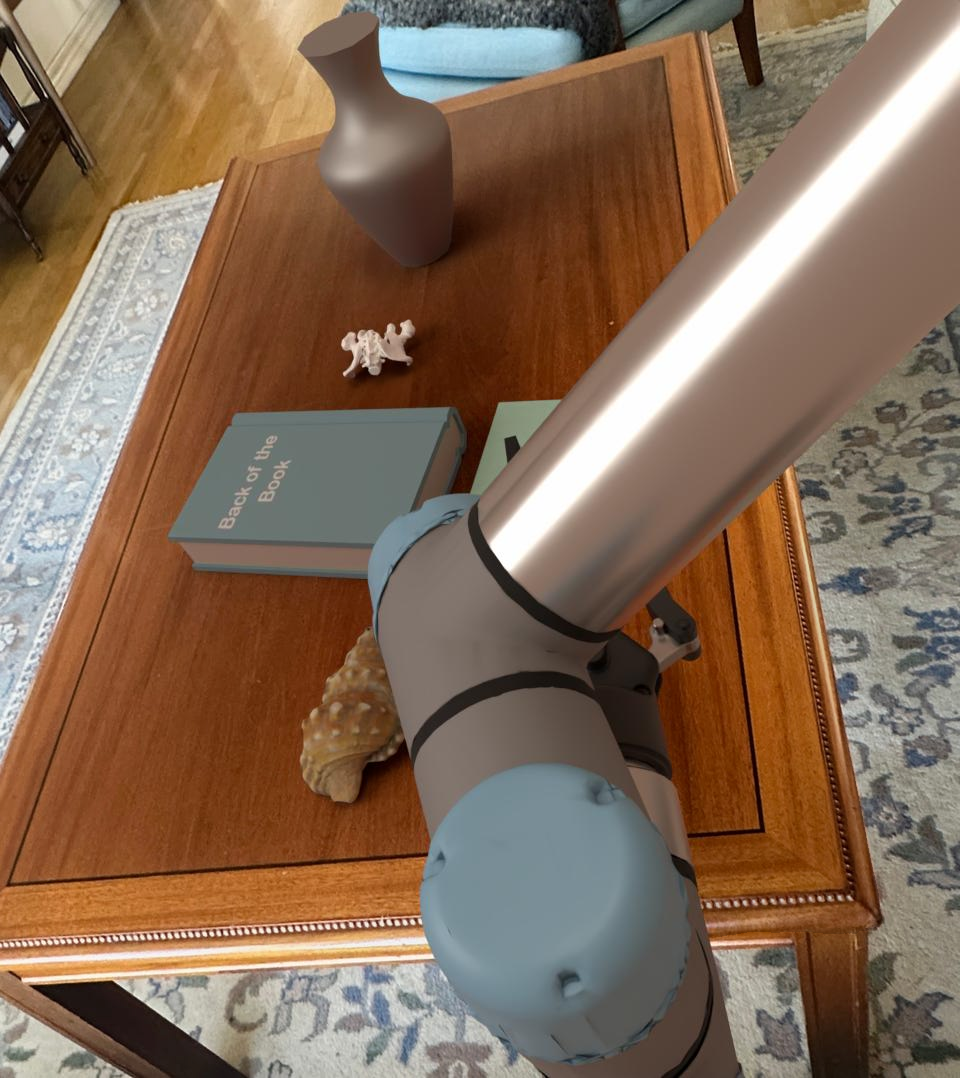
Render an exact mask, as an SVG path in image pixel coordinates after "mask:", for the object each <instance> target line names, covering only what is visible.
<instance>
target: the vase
mask: <svg viewBox="0 0 960 1078" xmlns="http://www.w3.org/2000/svg"><path fill="white" fill-rule="evenodd" d="M296 50H297V51H298V52H299V53H300V54H301V55H302V57H304V59H305V60H306V61H307V62H308V63H309V64H310V66H311V67H312V69H314V70H315V71H316V73H317V74H318V75H319V76H320V78H322V80H323V81H324V83H325V85H326V86H327V87H328V89H329V90H330V92H331V95H332V97H333V101H334V102H333V103H334V110H335V111H334V113H335V114H334V115H335V116H334V121H333V122H334V123H333V124H332V126H331V128H330V130H329V132H328V133H327V135H326V136H325V138H324V140H323V141H322V144H321V145H320V146H321V147H320V149H319V151H318V157H317V167H318V172H319V176H320V178H321V180H322V182H323V183H324V184H325V186H326V188H327V189H328V191H329V192H330V193H331V194H332V196H333V197H334V198H335V200H336V201H338V203H339V204H340V205H341V206H342V207H343V209H345V211H346V212H347V213H348V214H349V215H350V216H351V217H352V219H353V220H354V221H355V222H356V223H357V224H358V225H359V227H360V228H362V230H363V231H364V232H365V233H366V234H367V235H368V236H369V237H370V239H372V240H373V241H374V242H375V243H376V244H377V245H378V246H379V247H380V248H381V249H382V250H384V251H385V253H387V254H388V255H389V256H391V258H393V259H394V260H395V261H396V262H397V263H399V265H401V267H403V268H416V269H418V268H421V267H425V266H427V265H430V264H432V263H435V262H437V261H438V260H439V259H440V258H442V257H443V256H444V255H445V254H446V253H447V252H449V250H450V247H451V243H452V230H453V219H454V170H453V167H454V166H453V165H454V164H453V146H452V135H451V128H450V125H449V122H448V120H447V117H446V115H445V114H444V113H443V111H441V109H439V107H437V106H436V105H434V104H433V103H431V102H429V101H427V100H424V99H420V98H417V97H415V96H408V95H404V94H402V93H400V92H399V91H398V90H397V89H395V88H394V86H392V84H391V83H390V82H389V80H388V79H387V77H386V76H385V73H384V71H383V67H382V62H381V61H382V60H381V54H380V17H379V16H378V15H376V14H375V13H373V12H372V11H370V10H368V11H357V12H348V13H345V14H343V15H340V16H338V17H336V18H332V19H330V20H327V21H325V22H323V23H322V24H320V25H318V26H317V27H315V28H314V29H313V30H312V31H310V32H308V33H307V34H306V35H304V36H303V38H302V40H301V42H300V44H299V45H298V47H297V48H296Z"/></svg>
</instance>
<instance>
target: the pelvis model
mask: <svg viewBox="0 0 960 1078" xmlns="http://www.w3.org/2000/svg"><path fill="white" fill-rule="evenodd" d="M399 327H400V328H401V333H400V334H397V333H396V326H395V324H394V323H393V322H391V323H390V322H389V324H387V327H386V332H384V338H382V337H381V335H380V333H379V332H377V331H375V329H369V330H365V329H361V330H359V331H358V333H356V332H354V331H349V332H347V334H346V335H345V337H343V339H342V340H341V343H340V344H341V345H340V346H341V348H342V350H344V351H345V352H348V351H349V352H350V351H351V352H352V355H353V360H352V362H351V364H350V366H349V367H348V368H347V369H346V370H345V371H343V372H342V375H343V377H345V378H348V379H355V378H356V369H357V367H358V366H359V365H361V367H362V368H365V367H366V368H368V372H369V374H370V375H372V376H378V375H379V374H380V373H381V372H382V364H383V363H386V360H385V358H387V359H389V360H392V361H397V362H405V363H406V366H407V367H410V366H411V365H412V364H413V358H412V357H411V356H408V355H407V354H406V351H405V347H404V346H405V344H406V342H407V340H408V339H412V338H413V336H414V335H415V334H416V327H415V326H414V325H413V321H412V320H411V319H407V320H405V321H402V322H400V324H399ZM356 339H358V342H357V341H356ZM382 358H383V359H382Z"/></svg>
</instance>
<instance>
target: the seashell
mask: <svg viewBox="0 0 960 1078" xmlns="http://www.w3.org/2000/svg"><path fill="white" fill-rule="evenodd" d="M324 685H325V687H324V691H323V695H322V699H321V701H322V703H321V704H320V706H317V707H315V708H313V709H312V710H311V712H310V713H309V716H308V717H307V718H304V719H303V720H302V722H301V729H302V733H303V734H302V735H303V736H302V737H303V744H302V751H301V754H300V758H299V763H300V766H301V769H302V770H301V771H302V778H303V780H304V782H305V783H306V784H307V785H308V787H309V788H310V790H311V791H312V792H313V793H315V794H317V795H321V796H322V795H323V796H325V797H330V799H331V801H332V802H333V803H335V802H343V803H349V804H352V803H354V802H355V801H356V799H357V797H358V796H359V794H360V789H361V785H362V779H363V771H364V769H365V768H366V766H367V764H368V763H375V762H376V763H377V762H383V761H384V762H385V761H386V760H388V759H389V758H391V757H392V756H393V755H395V754H396V753H397V752H398V750H399V748H400V747H401V745H402V743H403V742H404V740H405V736H404V732H403V729H402V725H401V721H400V718H399V714H398V711H397V707H396V703H395V700H394V696H393V692H392V689H391V685H390V681H389V678H388V674H387V670H386V667H385V663H384V659H383V657H382V655H381V652H380V650H379V648H378V645H377V642H376V638H375V634H374V629H373V625H372V626H367V627H366V628H365V629H364V631H363V633H362V634H361V635H359V636H358V638H357V641H356V644H355V645H353V647H352V648H351V649H350V650H349V651H348V653H347V654H346V656H345V660H344V664H343V665H342V666H341V667H340V668H339V669H338V670H336V671H335V672H333V673H332V674H331V675H329V676H328V677H327V679H326V681H325V684H324Z"/></svg>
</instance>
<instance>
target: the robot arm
mask: <svg viewBox="0 0 960 1078" xmlns="http://www.w3.org/2000/svg"><path fill="white" fill-rule="evenodd" d="M959 305H960V0H900V1H899V3H898V4H897V5H896V6H895V7H894V9H893V10H892V11H891V12H890V13H889V15H887V17H886V18H885V19H884V21H882V23H881V24H880V25H879V26H878V27H877V28H876V30H874V32H873V33H872V35H871V36H870V37H869V38H868V39H867V40H866V41H865V43H864V44H863V45H862V46H861V47H860V49H858V51H857V52H856V54H855V55H854V56H853V57H852V58H851V59H850V60H849V62H847V64H846V65H845V66H844V68H843V69H842V70H841V71H840V72H839V73H838V75H836V77H835V78H834V79H833V81H832V82H830V84H829V85H828V86H827V88H825V90H824V91H823V92H822V94H820V96H819V97H818V98H817V99H816V100H815V101H814V103H813V104H812V105H811V106H810V108H809V109H808V110H807V111H806V112H805V113H804V115H802V117H801V118H800V119H799V121H798V122H797V123H796V124H795V125H794V126H793V127H792V128H791V130H790V131H789V132H788V133H787V134H786V136H785V137H784V138H783V139H782V140H781V141H780V143H779V144H778V145H777V146H776V148H775V149H774V150H773V151H772V152H771V153H770V155H769V156H768V157H767V158H766V159H765V160H764V162H763V163H762V164H761V165H760V166H759V167H758V168H757V170H756V171H755V172H754V174H752V176H751V177H750V178H749V179H748V180H747V181H746V183H745V184H744V185H743V186H742V187H741V189H740V190H739V191H738V192H737V193H736V195H735V196H734V197H733V198H732V199H731V200H730V202H729V203H728V204H727V205H726V206H725V207H724V209H723V210H722V211H721V212H720V213H719V214H718V215H717V217H716V218H715V219H714V220H713V221H712V223H710V225H709V226H708V227H707V228H706V229H705V231H704V232H703V233H702V234H701V236H700V237H699V238H698V239H697V241H695V243H694V244H693V245H692V246H691V247H690V249H689V250H688V251H687V252H686V253H685V254H684V256H683V257H682V258H681V259H680V260H679V262H678V263H677V264H676V265H675V266H674V267H673V268H672V269H671V271H670V272H669V273H668V275H667V276H666V277H665V278H664V279H663V280H662V282H661V283H660V284H659V285H658V286H657V287H656V288H655V290H654V291H653V292H652V293H651V295H650V296H648V298H647V299H646V300H645V302H644V303H643V304H642V305H641V306H640V307H639V308H638V309H637V311H636V312H635V313H634V314H633V316H632V317H631V318H630V319H629V320H628V321H627V323H625V325H624V326H623V327H622V329H621V330H620V331H619V332H618V333H617V334H616V335H615V337H614V338H613V339H612V340H611V341H610V343H609V344H608V345H607V346H606V347H605V348H604V349H603V351H602V352H601V353H600V354H599V355H598V356H597V358H596V359H595V360H594V361H593V363H592V364H591V365H590V366H589V367H588V369H587V370H586V371H585V372H584V373H583V375H582V376H581V377H580V378H579V379H578V380H577V381H576V382H575V384H574V385H573V386H572V387H571V388H570V390H569V391H568V392H567V393H566V394H565V396H564V397H563V398H561V399H562V400H561V399H560V400H561V402H560V403H559V404H558V405H557V406H556V407H555V409H554V410H553V411H552V412H551V413H550V414H549V416H548V417H547V418H546V419H545V420H544V422H543V423H542V424H541V425H540V426H539V427H538V429H537V430H536V431H535V432H534V433H533V434H532V436H531V437H530V438H529V439H528V440H527V442H526V443H525V444H524V445H523V446H522V447H521V448H520V445H519V442H518V440H517V437H516V435H515V436H511V437H508V438H504V442H505V449H506V457H507V465H506V466H505V467H504V469H503V470H502V471H501V472H500V473H499V474H498V476H497V477H496V478H495V479H494V480H493V482H492V483H491V484H490V485H489V486H488V487H487V489H486V490H485V491H484V492H483V493H482V495H476V494H470V493H452V494H451V493H450V494H449V495H444V496H439V497H436V498H432V499H429V500H427V501H425V502H424V503H423V506H422V507H421V508H419V509H417V510H415V511H413V512H411V513H409V514H407V515H406V514H401V515H399V516H398V517H397V518H396V519H395V520H394V521H392V522H391V523H390V524H389V525H388V526H387V527H386V528H385V530H384V531H383V532H382V534H381V535H380V536H379V538H378V540H377V542H376V543H375V545H374V547H373V550H372V553H371V556H370V559H369V564H368V579H367V584H368V590H369V594H370V601H371V606H372V612H373V614H372V627H373V629H374V634H375V638H376V642H377V645H378V648H379V650H380V652H381V655H382V657H383V659H384V663H385V667H386V670H387V674H388V678H389V681H390V685H391V689H392V692H393V696H394V700H395V703H396V707H397V711H398V714H399V718H400V721H401V725H402V729H403V732H404V736H405V738H404V740H405V743H406V746H407V751H408V754H409V759H410V761H411V766H412V770H413V776H414V780H415V784H416V788H417V791H418V796H419V800H420V804H421V809H422V812H423V816H424V820H425V824H426V828H427V832H428V836H429V840H430V842H429V843H430V844H429V849H428V854H427V857H426V861H425V864H424V866H423V871H422V879H421V883H420V886H419V909H420V917H421V918H420V919H421V923H422V929H423V933H424V936H425V937H424V938H425V939H426V941H427V944H428V947H429V950H430V951H431V954H432V956H433V959H434V960H435V962H436V964H437V966H438V967H439V969H440V970H441V972H442V973H443V975H444V976H445V977H446V979H447V981H448V983H449V984H450V986H451V988H452V990H453V992H454V994H455V996H456V998H458V1000H460V1001H461V1002H463V1004H466V1005H467V1006H468V1008H469V1011H470V1015H471V1017H472V1018H474V1020H475V1021H477V1022H479V1024H481V1025H483V1026H484V1027H486V1029H487V1031H488V1032H489V1033H490V1035H491V1036H492V1037H495V1038H497V1039H498V1040H499V1041H500V1042H501V1043H502V1044H504V1045H506V1046H507V1047H509V1048H511V1049H513V1050H514V1051H515V1052H517V1053H519V1054H520V1055H521V1056H522V1057H523V1058H525V1059H526V1060H527V1061H528V1062H529V1063H531V1064H532V1065H533V1067H534V1068H535V1070H536V1071H537V1072H538V1073H540V1075H541V1078H746V1075H745V1074H744V1069H743V1065H742V1063H741V1062H739V1060H738V1057H737V1051H736V1048H735V1043H734V1039H733V1035H732V1030H731V1026H730V1021H729V1015H728V1012H727V1008H726V1003H725V998H724V995H723V990H722V986H721V980H720V976H719V973H718V968H717V964H716V961H715V957H714V952H713V947H712V944H711V940H710V936H709V931H708V928H707V927H708V926H707V923H706V919H705V916H704V912H703V911H704V910H703V908H702V903H701V899H700V896H699V895H700V894H699V886H698V881H697V876H696V873H695V865H694V860H693V855H692V852H691V847H690V841H689V837H688V833H687V829H686V824H685V819H684V815H683V810H682V805H681V801H680V797H679V792H678V790H677V788H676V786H675V784H674V782H672V779H673V772H674V771H673V766H672V762H671V761H672V760H671V756H670V752H669V748H668V743H667V739H666V735H665V729H664V725H663V721H662V715H661V712H660V708H659V694H660V692H661V689H662V687H663V679H664V678H663V672H666V670H667V669H669V668H671V666H673V665H674V664H676V663H677V662H678V661H680V660H683V661H686V662H692V661H696V660H697V659H699V657H701V655H702V653H703V649H702V643H701V639H700V635H699V631H698V626H697V623H696V622H697V621H696V619H694V617H693V616H692V615H691V614H689V613H688V611H686V610H685V609H684V608H683V607H682V606H681V605H680V604H679V603H678V602H677V601H676V600H675V599H674V598H673V597H672V596H671V594H670V591H669V588H668V586H667V585H668V584H669V583H671V581H672V580H673V579H674V578H675V577H677V575H679V573H681V572H682V571H683V570H684V569H685V568H686V567H687V566H688V565H689V564H690V563H691V562H692V561H693V560H694V559H695V558H697V556H698V555H699V554H700V553H702V552H703V551H704V550H705V548H707V547H708V546H709V545H710V544H711V543H712V542H713V541H714V540H715V539H716V538H717V537H718V536H719V535H720V534H722V532H723V531H724V530H725V529H727V528H728V527H729V526H730V524H732V523H733V522H734V521H735V520H736V519H737V518H738V517H739V516H740V515H741V514H742V513H743V512H745V510H746V509H747V508H749V506H751V504H752V503H754V502H755V501H756V500H757V499H758V498H759V497H760V495H762V494H763V493H764V492H765V491H766V490H767V489H768V488H769V487H770V486H772V484H773V483H774V482H776V481H777V479H779V478H780V476H782V475H783V474H784V473H785V472H786V471H787V470H788V469H789V468H790V467H791V466H792V465H793V464H794V463H795V462H796V461H797V460H798V459H799V458H801V456H802V455H804V454H805V453H806V452H807V451H808V450H809V449H810V448H811V447H812V446H813V445H814V444H815V443H816V442H817V441H818V440H820V439H821V437H822V436H823V435H824V434H825V433H827V432H828V431H829V429H830V428H832V427H833V426H834V425H835V424H836V423H837V422H838V421H839V420H840V419H841V418H842V417H843V416H844V415H845V414H846V413H847V412H848V411H849V410H850V409H852V408H853V406H854V405H856V404H857V403H858V402H859V400H861V399H862V398H863V397H864V396H865V395H866V394H867V393H868V392H869V391H870V390H871V389H872V388H873V387H874V386H875V385H876V384H877V383H878V382H880V381H881V380H882V379H883V378H884V377H885V376H886V375H887V374H888V373H889V372H890V371H891V370H892V369H893V368H894V367H895V366H897V364H899V362H900V361H902V359H904V357H906V356H907V355H908V354H909V353H910V352H911V351H912V350H913V349H914V348H915V347H916V346H917V345H918V344H919V343H921V342H922V341H923V340H924V338H926V337H927V335H929V334H930V333H931V332H932V330H934V329H935V328H936V327H937V326H938V325H939V324H940V323H942V321H943V320H945V318H946V317H948V315H950V314H951V312H953V310H955V309H956V308H957V307H958V306H959ZM644 607H646V610H647V612H648V615H649V618H650V619H651V625H650V626H649V627H648V636H649V638H650V642H651V644H650V646H649V648H648V649H647V648H646V647H644V645H643V646H642V645H641V644H640V643H638V641H636V640H634V639H633V638H632V637H631V636H629V635H628V634H626V633H625V632H624V631H622V630H623V629H624V627H625V626H626V625H627V623H628V622H630V621H631V620H632V618H634V617H635V616H636V615H637V614H638V613H639V612H640V611H641V610H642V609H643V608H644Z"/></svg>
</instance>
